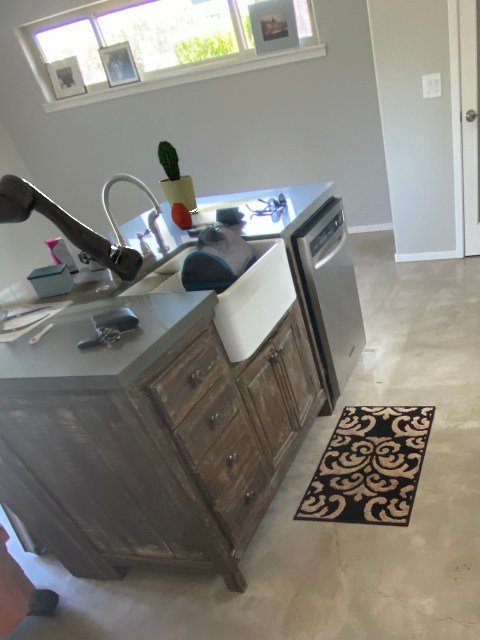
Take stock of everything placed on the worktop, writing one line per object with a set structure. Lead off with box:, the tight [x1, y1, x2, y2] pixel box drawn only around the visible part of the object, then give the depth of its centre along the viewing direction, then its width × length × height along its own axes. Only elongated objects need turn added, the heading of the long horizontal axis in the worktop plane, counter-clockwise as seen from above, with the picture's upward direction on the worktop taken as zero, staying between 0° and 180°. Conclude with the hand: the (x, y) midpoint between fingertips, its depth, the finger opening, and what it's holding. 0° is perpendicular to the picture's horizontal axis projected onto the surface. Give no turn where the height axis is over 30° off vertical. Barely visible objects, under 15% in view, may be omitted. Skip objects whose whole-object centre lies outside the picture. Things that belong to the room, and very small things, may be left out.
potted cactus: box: [155, 139, 199, 214], centre depth 244 cm, size 15×15×30 cm
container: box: [26, 263, 76, 299], centre depth 176 cm, size 11×11×7 cm
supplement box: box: [43, 236, 80, 275], centre depth 191 cm, size 6×6×12 cm
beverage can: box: [79, 249, 106, 272], centre depth 190 cm, size 6×6×12 cm
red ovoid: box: [170, 201, 193, 230], centre depth 225 cm, size 8×8×11 cm
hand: (94, 251), depth 186 cm, fingers open, 8 cm apart
